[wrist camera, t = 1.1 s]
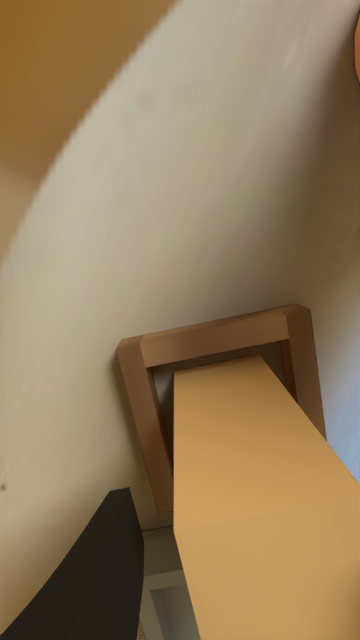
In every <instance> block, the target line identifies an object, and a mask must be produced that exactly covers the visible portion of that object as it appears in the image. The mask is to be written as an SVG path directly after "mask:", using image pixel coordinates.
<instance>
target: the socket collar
mask: <svg viewBox="0 0 360 640" xmlns="http://www.w3.org/2000/svg"><path fill="white" fill-rule="evenodd" d="M275 341H280V346H281V352H282V359H283V366H284V373H285V379H286V386H287V391H288V392H289V394H290V395H291V396H292V397H293V399H294V400H295V401H296V403H297V404H298V405H299V407H300V408H301V409H302V410H303V412H304V413H305V414H306V416H307V417H308V418H309V420H310V421H311V422H312V423H313V425H314V426H315V427H316V429H317V430H318V431H319V433H320V434H321V435H322V436H323V438H324V439H325V440H326V442H327V439H326V431H325V423H324V415H323V407H322V399H321V391H320V383H319V375H318V367H317V359H316V351H315V343H314V335H313V327H312V319H311V311H310V310H309V309H307V308H305V307H303V306H301V305H299V304H294V305H289V306H284V307H279V308H274V309H269V310H264V311H259V312H254V313H250V314H245V315H240V316H235V317H230V318H225V319H220V320H215V321H210V322H205V323H201V324H196V325H191V326H186V327H181V328H176V329H171V330H166V331H161V332H157V333H152V334H147V335H142V336H137V337H132V338H127V339H122V340H121V341H120V343H119V345H118V347H117V349H116V352H117V356H118V360H119V364H120V367H121V371H122V375H123V379H124V383H125V387H126V391H127V395H128V398H129V402H130V406H131V410H132V414H133V418H134V422H135V425H136V429H137V433H138V437H139V441H140V445H141V449H142V453H143V456H144V460H145V464H146V468H147V472H148V476H149V480H150V483H151V487H152V491H153V495H154V499H155V503H156V507H157V511H158V513H163V512H169V511H174V463H173V459H172V454H171V450H170V446H169V442H168V438H167V433H166V429H165V425H164V421H163V417H162V412H161V408H160V404H159V400H158V396H157V391H156V387H155V383H154V379H153V375H152V370H151V366H156V365H161V364H166V363H171V362H176V361H181V360H186V359H190V358H195V357H200V356H205V355H210V354H215V353H220V352H225V351H230V350H235V349H240V348H245V347H250V346H255V345H260V344H265V343H270V342H275Z"/></svg>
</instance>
